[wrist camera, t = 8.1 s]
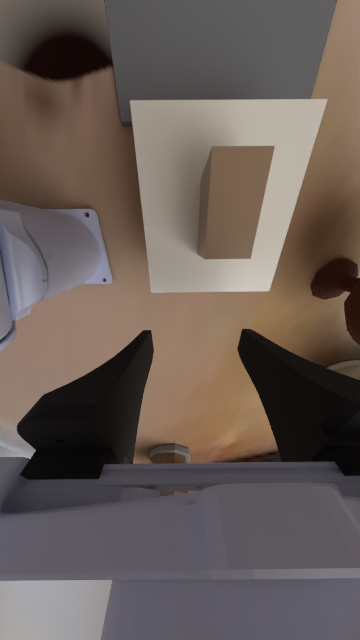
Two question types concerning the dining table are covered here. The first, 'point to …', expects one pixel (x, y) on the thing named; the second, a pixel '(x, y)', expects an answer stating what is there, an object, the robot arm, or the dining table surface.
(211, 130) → the lid
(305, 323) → the dining table surface
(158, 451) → the tankard
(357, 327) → the ice cream bowl
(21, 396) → the dining table surface
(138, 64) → the mat
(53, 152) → the dining table surface
